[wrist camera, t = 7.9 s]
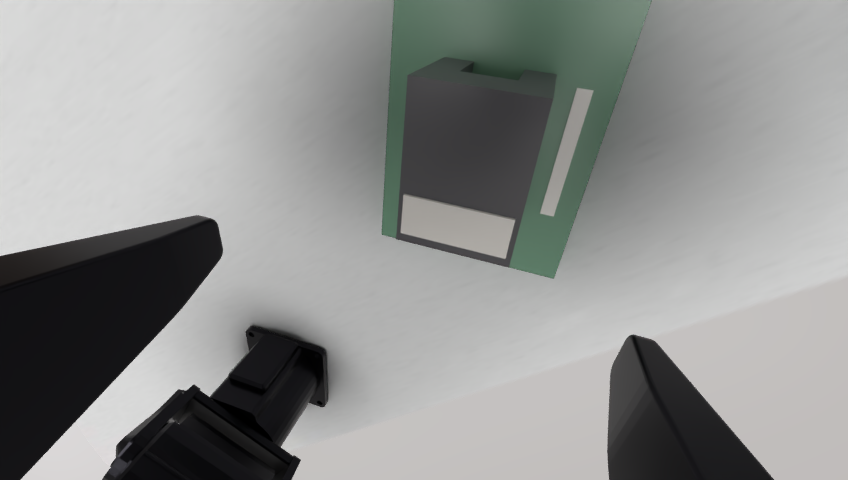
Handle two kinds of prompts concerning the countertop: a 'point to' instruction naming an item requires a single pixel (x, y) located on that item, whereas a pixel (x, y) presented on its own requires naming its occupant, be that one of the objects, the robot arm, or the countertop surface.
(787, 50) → the countertop surface
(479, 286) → the countertop surface
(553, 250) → the header board
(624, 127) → the countertop surface
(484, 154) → the plug
